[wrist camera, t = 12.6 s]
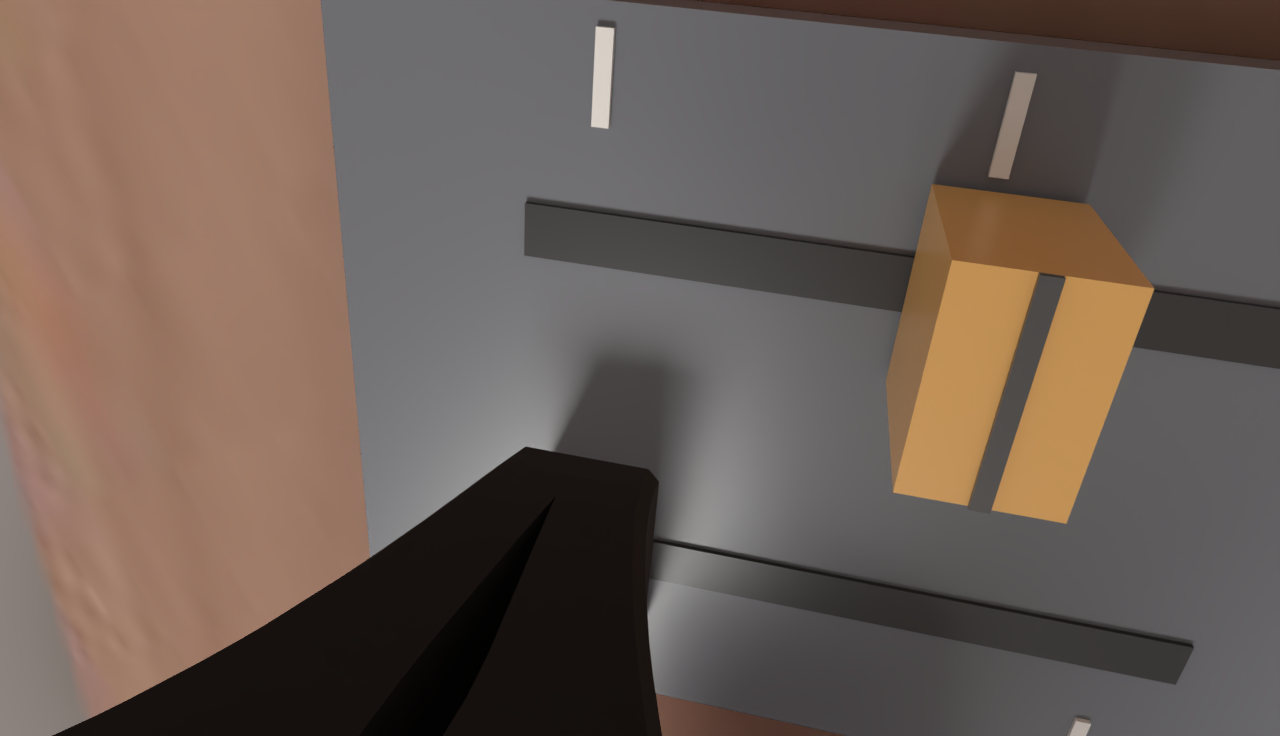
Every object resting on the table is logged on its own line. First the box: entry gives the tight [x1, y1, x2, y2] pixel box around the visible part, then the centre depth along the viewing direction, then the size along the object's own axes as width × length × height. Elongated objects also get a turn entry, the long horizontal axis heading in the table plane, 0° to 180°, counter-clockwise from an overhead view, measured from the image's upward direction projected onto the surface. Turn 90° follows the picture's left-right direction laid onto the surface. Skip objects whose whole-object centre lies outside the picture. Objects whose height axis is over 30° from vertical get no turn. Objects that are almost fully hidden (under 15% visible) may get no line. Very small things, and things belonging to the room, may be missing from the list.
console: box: [321, 0, 1280, 736], centre depth 18 cm, size 15×20×1 cm
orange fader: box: [886, 184, 1154, 524], centre depth 13 cm, size 4×2×4 cm, turn 176°
